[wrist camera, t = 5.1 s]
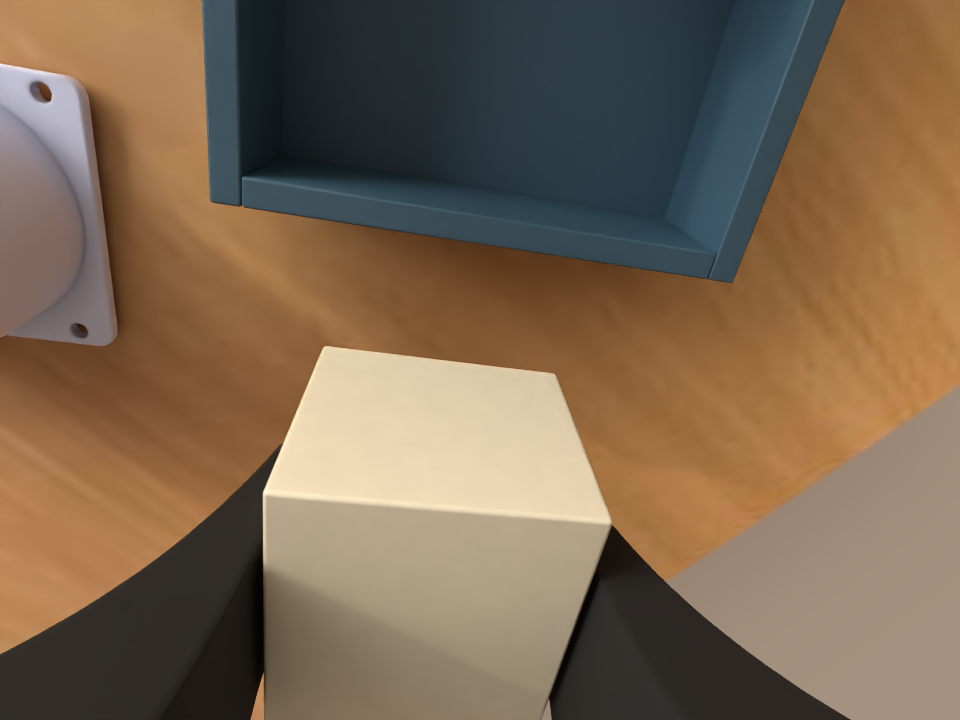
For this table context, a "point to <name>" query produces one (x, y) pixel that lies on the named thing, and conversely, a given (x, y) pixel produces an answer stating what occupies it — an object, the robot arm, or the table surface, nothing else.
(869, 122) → the table surface
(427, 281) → the table surface
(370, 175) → the box
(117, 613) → the robot arm
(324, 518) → the cream block
